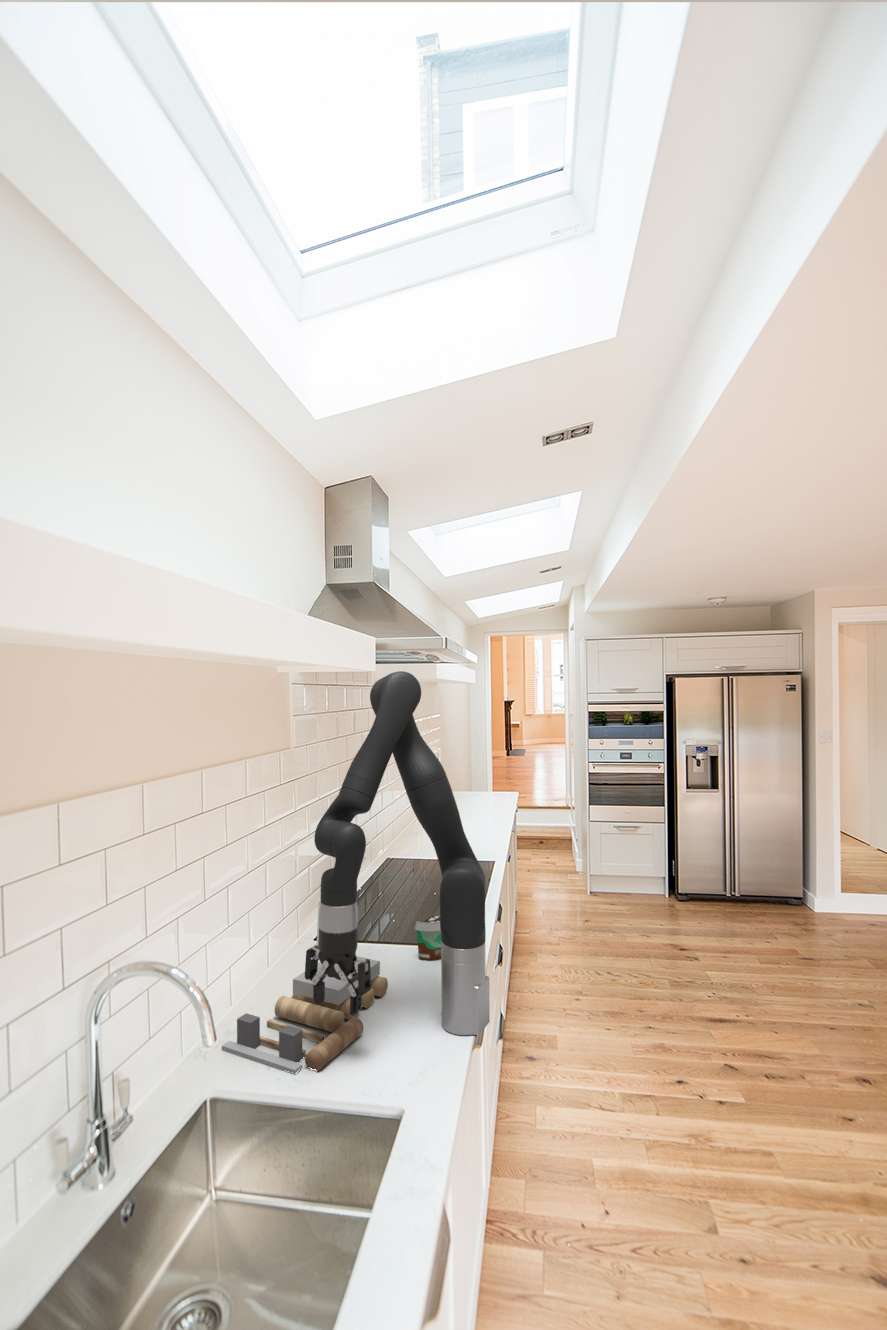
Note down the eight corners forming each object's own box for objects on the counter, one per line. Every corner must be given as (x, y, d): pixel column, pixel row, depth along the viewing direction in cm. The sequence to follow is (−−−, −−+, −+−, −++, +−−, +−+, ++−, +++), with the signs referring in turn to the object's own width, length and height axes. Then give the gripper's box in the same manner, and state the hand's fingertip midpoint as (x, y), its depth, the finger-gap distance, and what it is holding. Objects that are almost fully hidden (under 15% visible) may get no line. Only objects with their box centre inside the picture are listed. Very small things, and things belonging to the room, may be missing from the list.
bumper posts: (310, 1061, 125) (310, 1032, 125) (295, 1074, 121) (295, 1044, 121) (238, 1038, 133) (238, 1010, 134) (221, 1050, 129) (221, 1021, 130)
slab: (379, 974, 153) (379, 961, 153) (338, 1005, 138) (338, 990, 138) (336, 964, 158) (336, 951, 158) (292, 993, 144) (292, 979, 144)
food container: (434, 967, 166) (434, 927, 166) (415, 961, 170) (414, 921, 170) (463, 951, 176) (462, 912, 176) (444, 945, 179) (444, 908, 180)
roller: (354, 1037, 135) (345, 1020, 136) (366, 1031, 134) (358, 1014, 135) (310, 1074, 123) (302, 1055, 124) (323, 1067, 122) (315, 1048, 123)
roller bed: (387, 992, 153) (387, 974, 153) (305, 1059, 126) (305, 1037, 126) (334, 979, 160) (334, 962, 160) (245, 1040, 133) (245, 1019, 133)
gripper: (379, 925, 130) (378, 1009, 129) (321, 911, 136) (320, 991, 136) (356, 938, 123) (355, 1026, 123) (297, 923, 130) (295, 1007, 130)
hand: (336, 1008), depth 129 cm, fingers open, 8 cm apart
